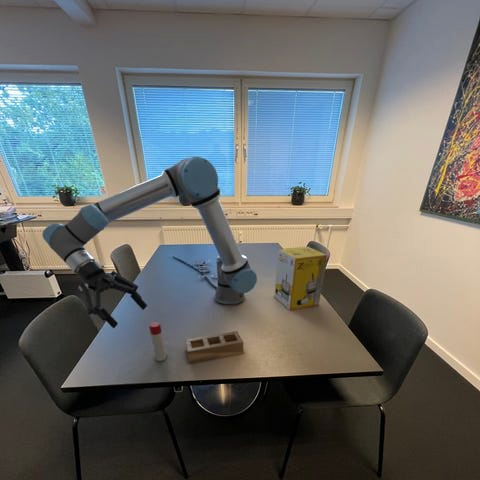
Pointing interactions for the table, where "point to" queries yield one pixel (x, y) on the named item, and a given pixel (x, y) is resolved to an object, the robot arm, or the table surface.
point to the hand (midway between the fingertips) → (131, 316)
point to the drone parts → (203, 268)
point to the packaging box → (299, 277)
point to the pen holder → (214, 346)
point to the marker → (157, 341)
